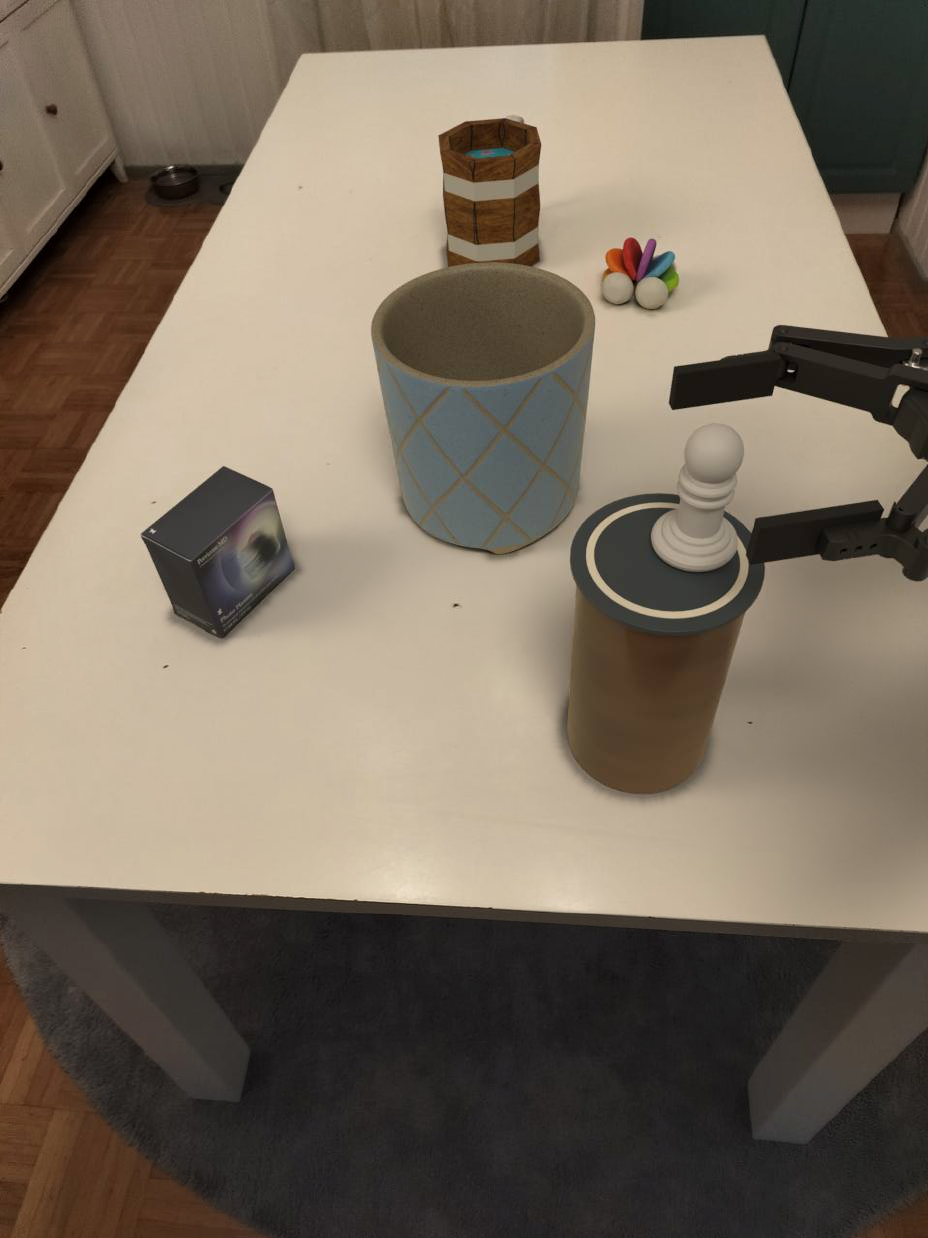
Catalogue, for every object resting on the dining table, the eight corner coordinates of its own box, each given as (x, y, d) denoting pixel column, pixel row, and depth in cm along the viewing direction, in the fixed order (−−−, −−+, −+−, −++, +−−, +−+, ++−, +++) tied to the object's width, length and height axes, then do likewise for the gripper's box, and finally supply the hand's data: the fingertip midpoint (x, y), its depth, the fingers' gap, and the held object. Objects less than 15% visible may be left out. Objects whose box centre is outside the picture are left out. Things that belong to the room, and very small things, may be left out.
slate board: (805, 589, 54) (807, 583, 53) (638, 665, 51) (639, 660, 50) (687, 475, 61) (688, 470, 60) (535, 536, 58) (535, 531, 57)
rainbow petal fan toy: (610, 272, 116) (614, 217, 111) (683, 282, 114) (691, 227, 108) (592, 305, 112) (596, 250, 106) (668, 317, 109) (676, 261, 103)
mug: (526, 286, 115) (525, 167, 104) (429, 274, 119) (419, 158, 107) (564, 216, 127) (568, 103, 116) (475, 207, 130) (470, 95, 119)
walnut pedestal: (734, 757, 69) (793, 586, 54) (614, 817, 66) (641, 656, 51) (653, 659, 76) (685, 482, 60) (542, 710, 73) (545, 539, 57)
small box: (224, 643, 79) (190, 563, 71) (172, 615, 82) (134, 534, 74) (299, 568, 85) (275, 486, 77) (249, 544, 87) (221, 462, 79)
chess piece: (732, 516, 57) (760, 401, 50) (740, 577, 54) (771, 463, 47) (648, 514, 58) (665, 400, 51) (651, 574, 54) (669, 460, 47)
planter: (359, 512, 89) (324, 338, 74) (471, 414, 99) (461, 241, 83) (512, 591, 81) (508, 414, 66) (619, 477, 91) (638, 298, 75)
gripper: (1169, 607, 46) (778, 671, 45) (934, 344, 62) (641, 386, 61) (1260, 501, 40) (815, 571, 39) (975, 241, 56) (652, 285, 55)
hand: (708, 458), depth 50 cm, fingers open, 13 cm apart
